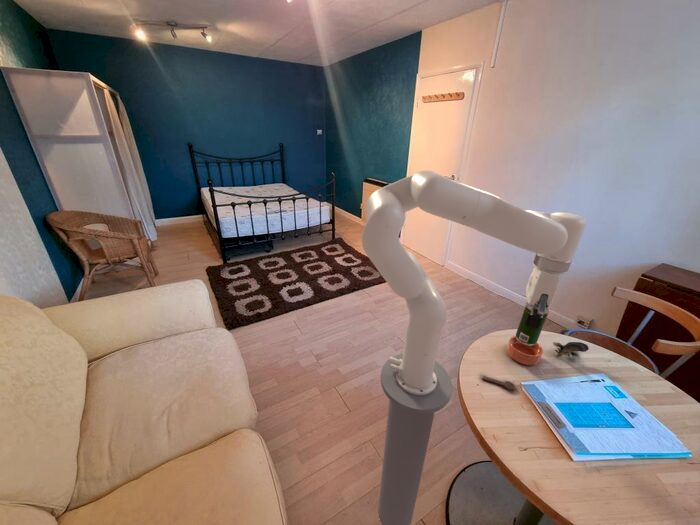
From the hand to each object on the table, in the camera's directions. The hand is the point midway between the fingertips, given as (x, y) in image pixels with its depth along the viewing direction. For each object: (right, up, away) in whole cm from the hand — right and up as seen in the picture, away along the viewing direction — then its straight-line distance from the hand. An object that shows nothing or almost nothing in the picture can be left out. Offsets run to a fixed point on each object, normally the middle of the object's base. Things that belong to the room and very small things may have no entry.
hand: (530, 319), depth 79 cm
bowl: (+10, -17, +20) cm, 27 cm away
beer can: (0, -7, +3) cm, 7 cm away
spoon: (-4, -22, +9) cm, 24 cm away
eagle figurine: (+25, -17, +20) cm, 36 cm away
